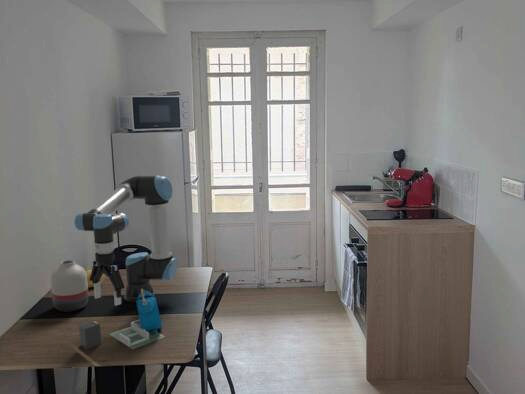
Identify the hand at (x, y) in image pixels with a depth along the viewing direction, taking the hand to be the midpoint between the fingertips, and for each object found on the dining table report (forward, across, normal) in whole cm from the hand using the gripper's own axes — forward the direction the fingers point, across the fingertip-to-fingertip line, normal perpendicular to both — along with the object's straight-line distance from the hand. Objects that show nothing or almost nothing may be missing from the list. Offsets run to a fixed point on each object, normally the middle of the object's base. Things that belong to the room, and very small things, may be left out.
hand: (107, 301), depth 214 cm
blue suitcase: (+19, +5, +17) cm, 26 cm away
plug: (+19, -3, -7) cm, 20 cm away
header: (+18, +8, +6) cm, 20 cm away
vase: (+18, -49, +13) cm, 54 cm away
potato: (+18, -67, +36) cm, 78 cm away
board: (+19, +5, +10) cm, 22 cm away
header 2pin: (+17, +1, +16) cm, 23 cm away
